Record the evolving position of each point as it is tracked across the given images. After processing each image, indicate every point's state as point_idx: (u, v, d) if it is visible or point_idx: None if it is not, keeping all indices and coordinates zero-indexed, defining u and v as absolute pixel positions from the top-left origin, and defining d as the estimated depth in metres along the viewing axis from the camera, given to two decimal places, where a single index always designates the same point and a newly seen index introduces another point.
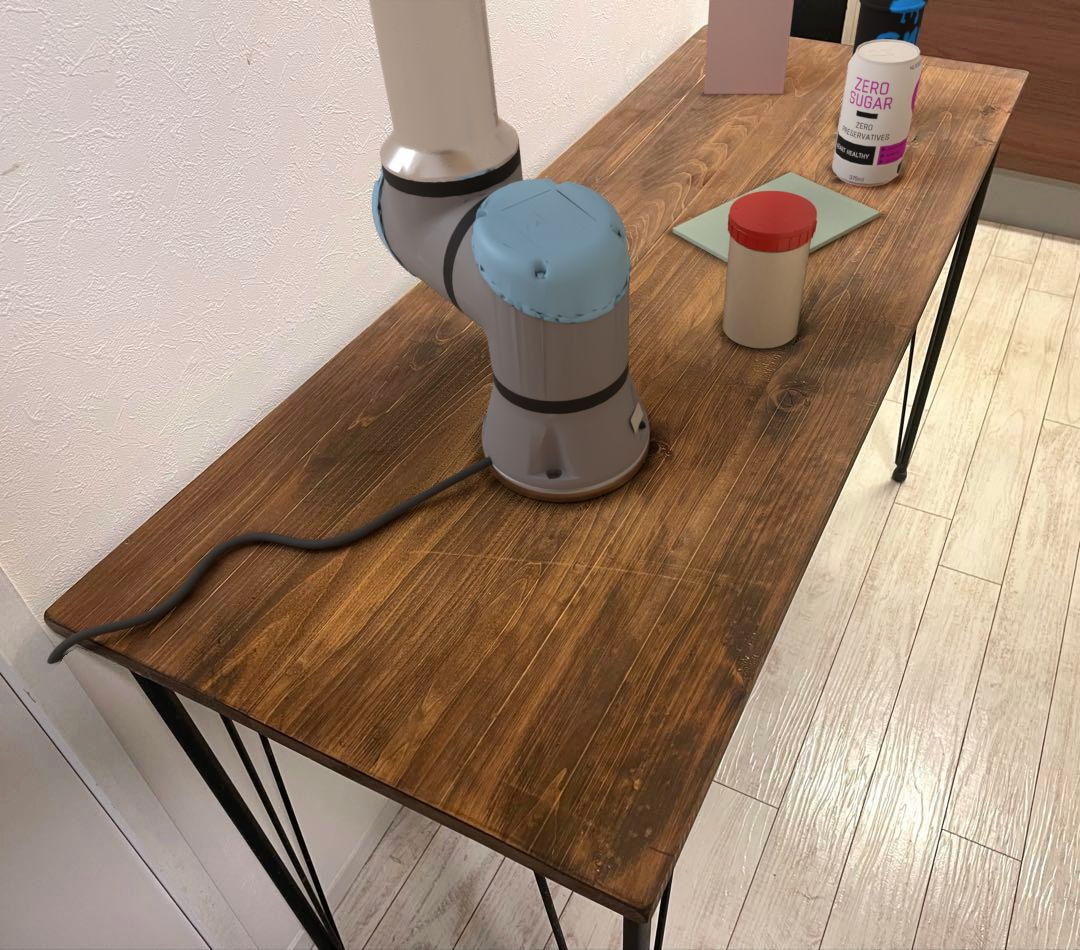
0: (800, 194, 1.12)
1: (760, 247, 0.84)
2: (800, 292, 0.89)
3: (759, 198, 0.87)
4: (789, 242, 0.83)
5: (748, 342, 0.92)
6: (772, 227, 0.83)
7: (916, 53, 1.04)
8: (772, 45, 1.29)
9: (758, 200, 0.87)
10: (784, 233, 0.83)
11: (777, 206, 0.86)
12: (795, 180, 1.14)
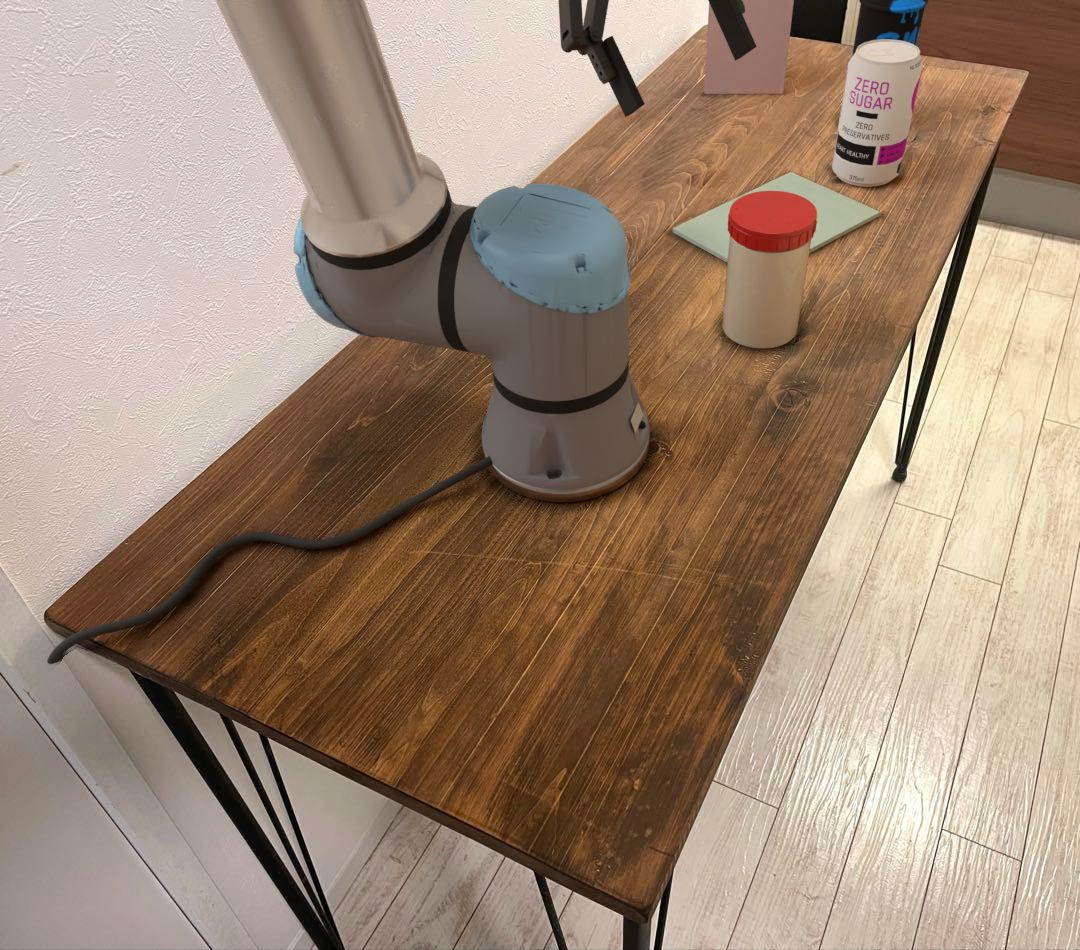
0: (800, 194, 1.12)
1: (760, 247, 0.84)
2: (800, 292, 0.89)
3: (759, 198, 0.87)
4: (789, 242, 0.83)
5: (748, 342, 0.92)
6: (772, 227, 0.83)
7: (916, 53, 1.04)
8: (772, 45, 1.29)
9: (758, 200, 0.87)
10: (784, 233, 0.83)
11: (777, 206, 0.86)
12: (795, 180, 1.14)
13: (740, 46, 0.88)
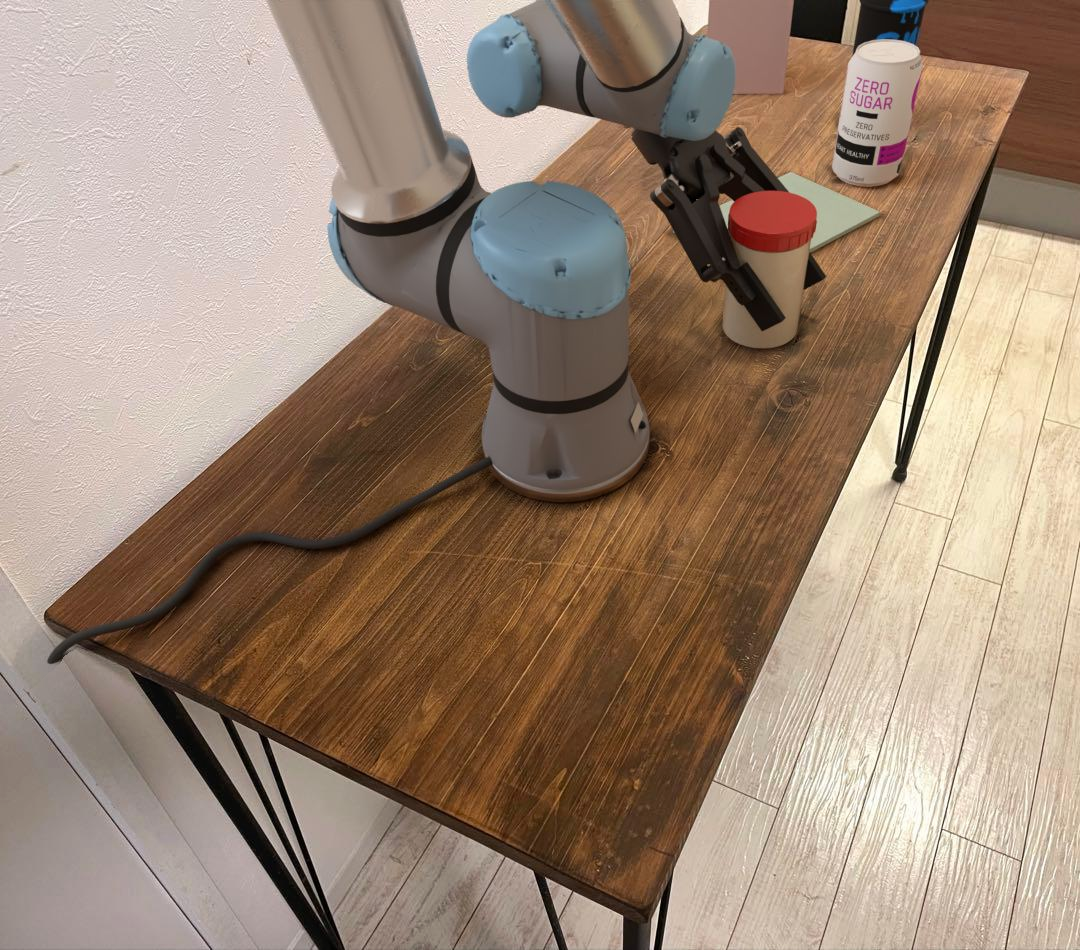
0: (800, 194, 1.12)
1: (760, 247, 0.84)
2: (800, 292, 0.89)
3: (759, 198, 0.87)
4: (789, 242, 0.83)
5: (748, 341, 0.92)
6: (772, 227, 0.83)
7: (916, 53, 1.04)
8: (772, 45, 1.29)
9: (758, 200, 0.87)
10: (784, 233, 0.83)
11: (777, 206, 0.86)
12: (795, 180, 1.14)
13: (809, 278, 0.92)
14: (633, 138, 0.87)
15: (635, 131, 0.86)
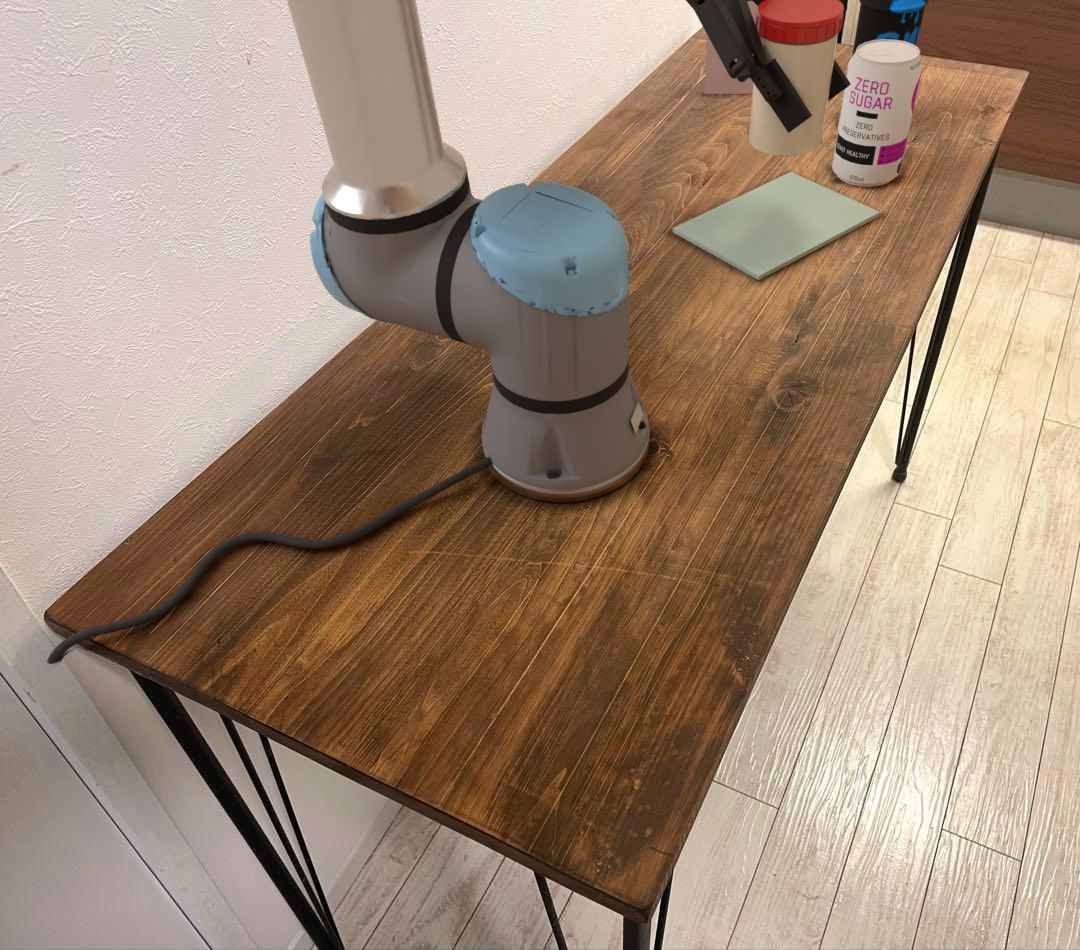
0: (800, 194, 1.12)
1: (788, 39, 0.86)
2: (826, 95, 0.91)
3: None
4: (817, 33, 0.85)
5: (774, 149, 0.94)
6: (800, 18, 0.85)
7: (916, 53, 1.04)
8: None
9: (785, 0, 0.89)
10: (812, 22, 0.84)
11: (804, 3, 0.88)
12: (795, 180, 1.14)
13: (834, 86, 0.94)
14: None
15: None
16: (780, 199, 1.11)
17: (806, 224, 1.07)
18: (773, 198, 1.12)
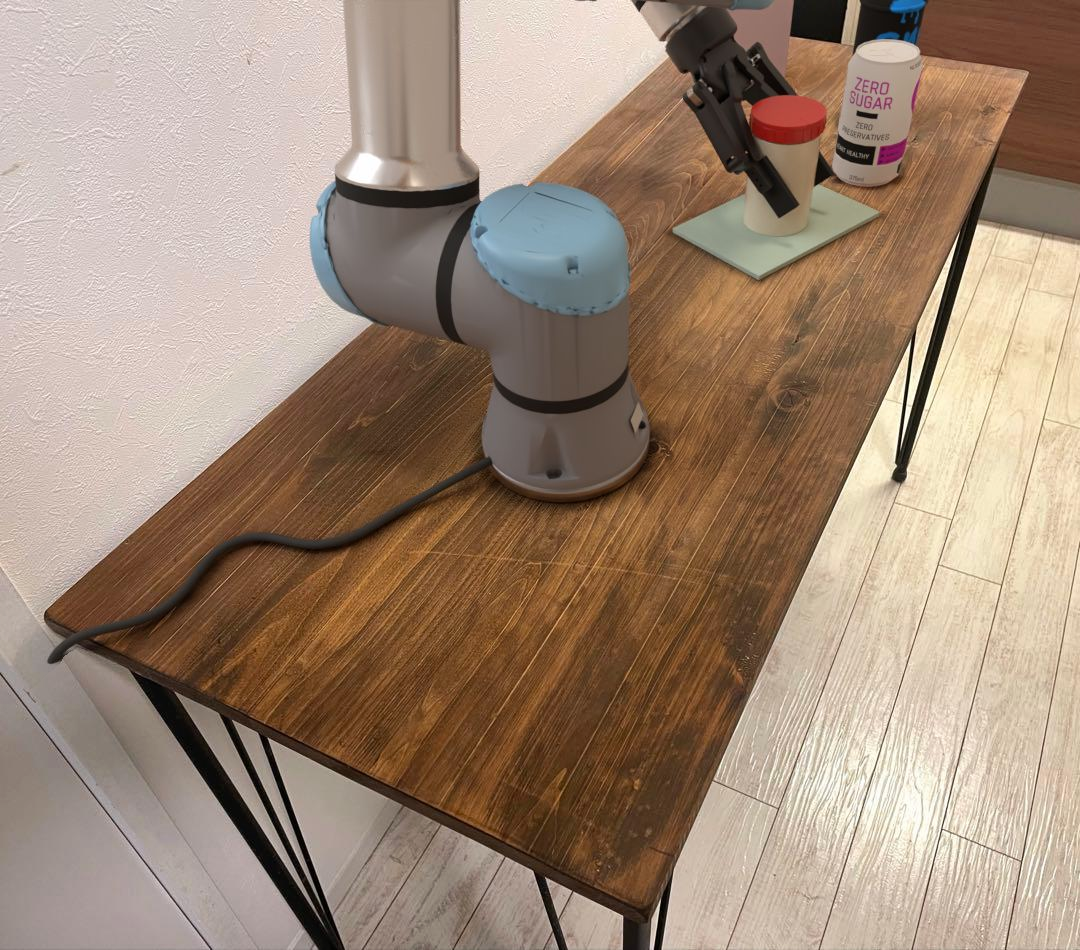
0: None
1: (778, 140, 0.97)
2: (811, 184, 1.02)
3: (776, 101, 1.01)
4: (803, 135, 0.97)
5: (766, 230, 1.05)
6: (788, 122, 0.97)
7: (916, 53, 1.04)
8: (772, 45, 1.29)
9: (775, 102, 1.00)
10: (798, 126, 0.96)
11: (792, 106, 0.99)
12: None
13: (819, 175, 1.05)
14: (667, 49, 1.00)
15: (669, 42, 0.99)
16: None
17: None
18: None
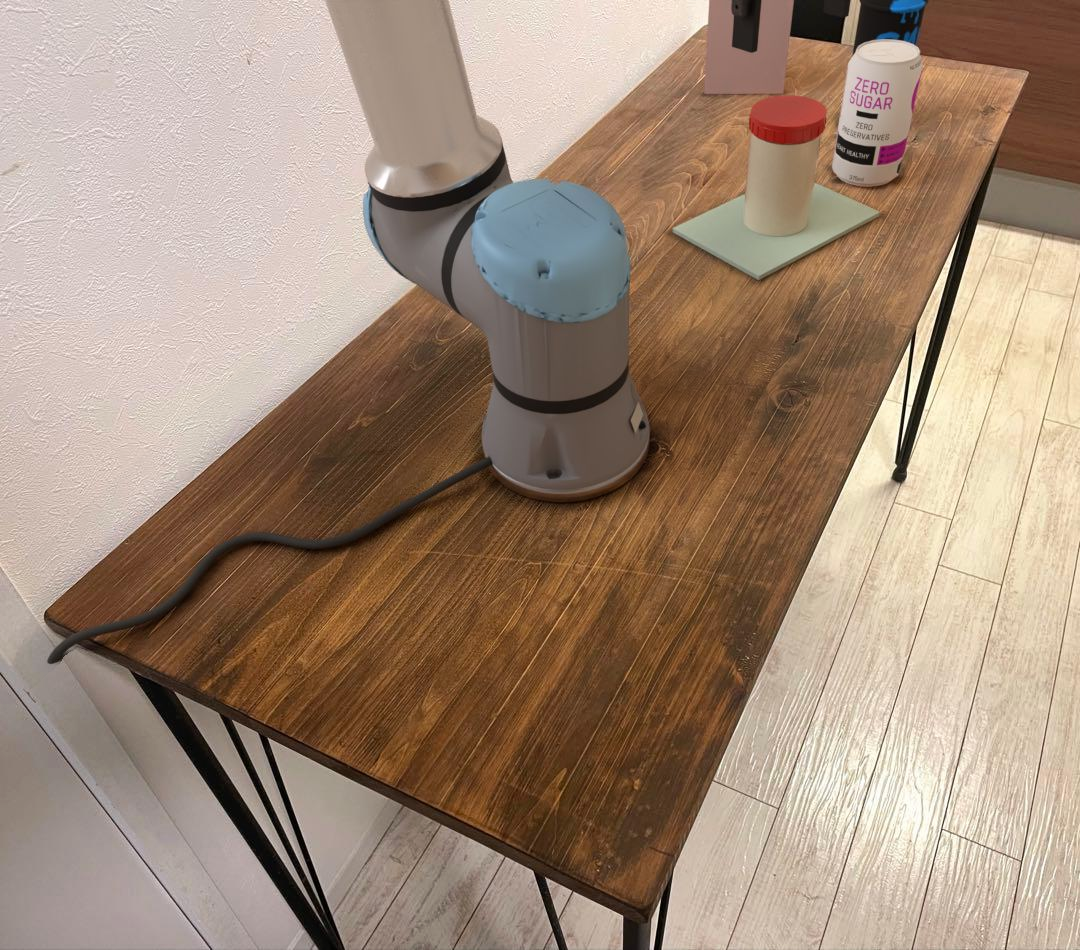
0: None
1: (777, 140, 0.97)
2: (811, 184, 1.02)
3: (776, 101, 1.01)
4: (802, 135, 0.97)
5: (766, 230, 1.05)
6: (788, 122, 0.97)
7: (916, 53, 1.04)
8: (772, 45, 1.29)
9: (775, 102, 1.00)
10: (798, 126, 0.96)
11: (792, 106, 0.99)
12: None
13: (836, 7, 0.95)
14: None
15: None
16: None
17: None
18: None
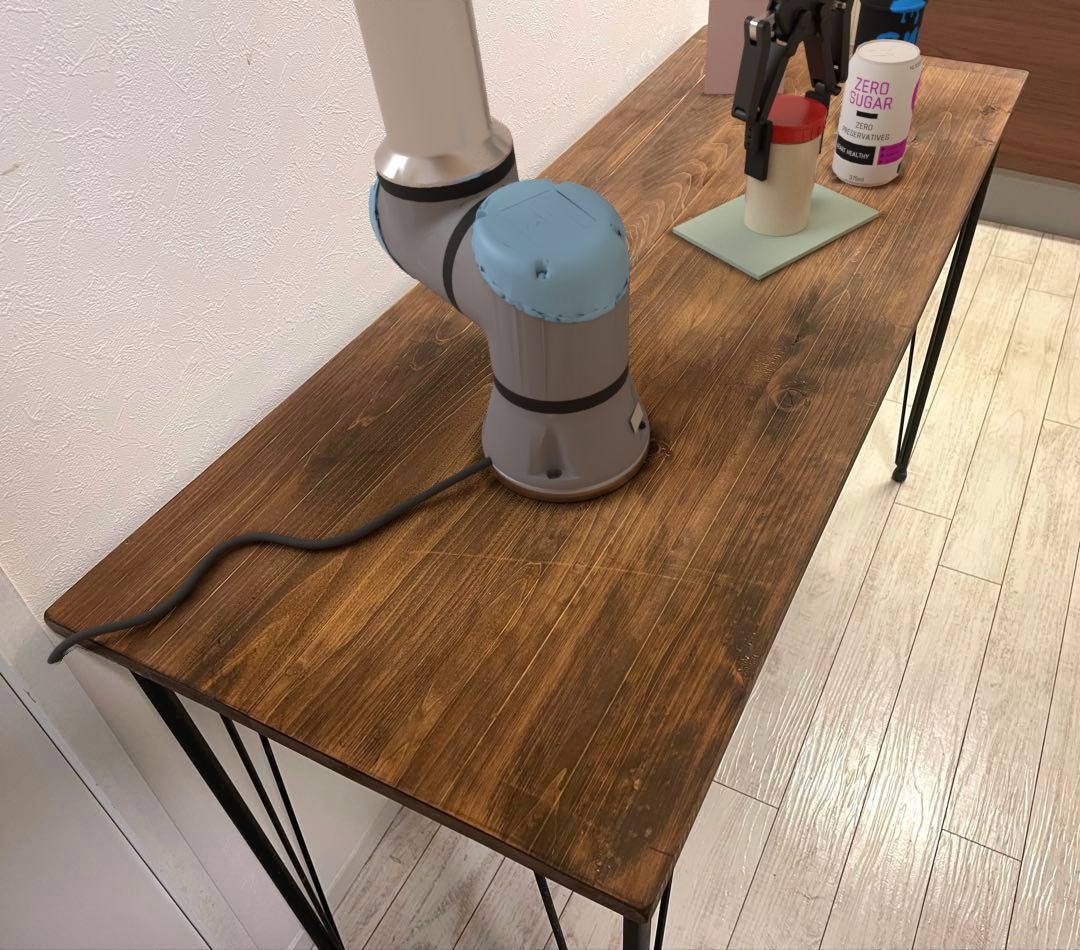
0: None
1: (778, 139, 0.97)
2: (811, 184, 1.02)
3: (776, 101, 1.01)
4: (803, 135, 0.97)
5: (766, 230, 1.05)
6: (788, 122, 0.97)
7: (916, 53, 1.04)
8: None
9: (775, 102, 1.00)
10: (798, 126, 0.96)
11: (792, 106, 0.99)
12: None
13: None
14: None
15: None
16: None
17: None
18: None
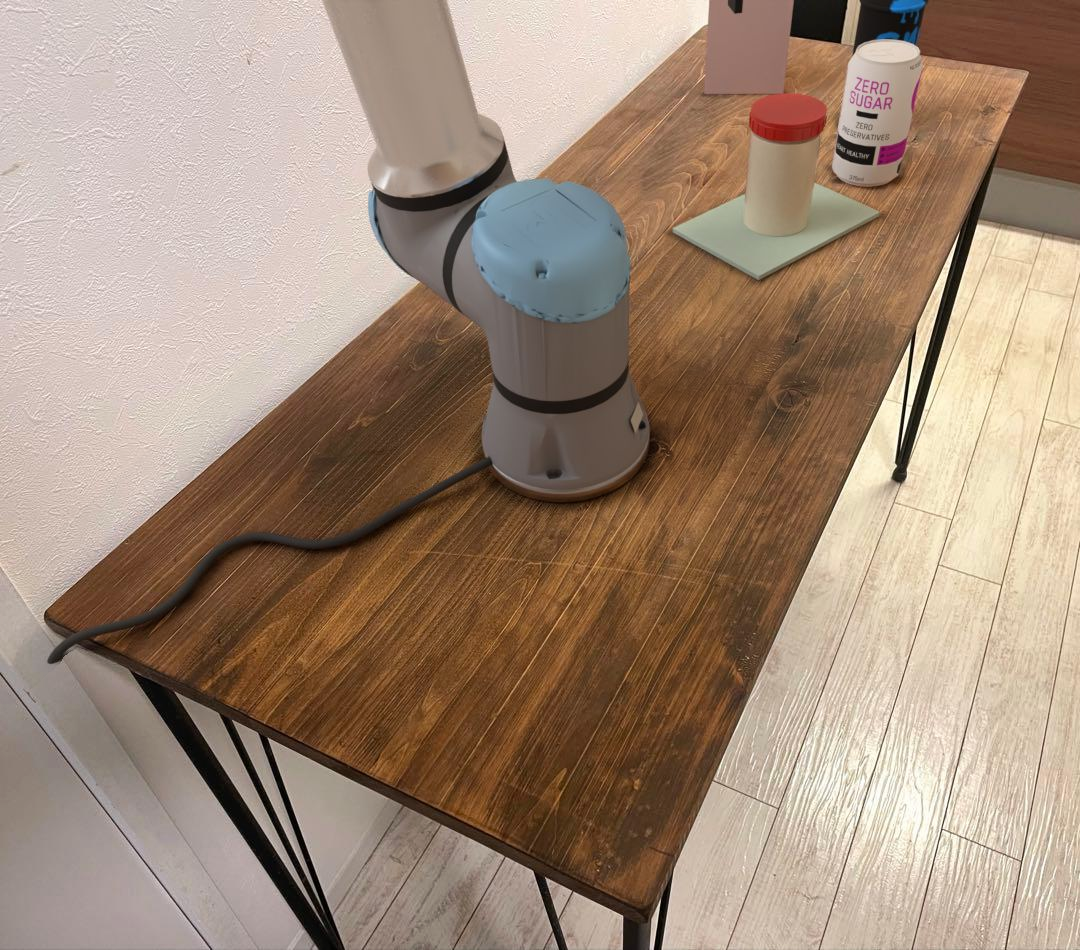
0: None
1: None
2: (811, 184, 1.02)
3: (787, 119, 0.97)
4: None
5: (766, 230, 1.05)
6: (802, 98, 1.00)
7: (916, 53, 1.04)
8: (772, 45, 1.29)
9: (790, 118, 0.97)
10: (797, 94, 1.01)
11: (780, 110, 0.98)
12: None
13: None
14: None
15: None
16: None
17: None
18: None
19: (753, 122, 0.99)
